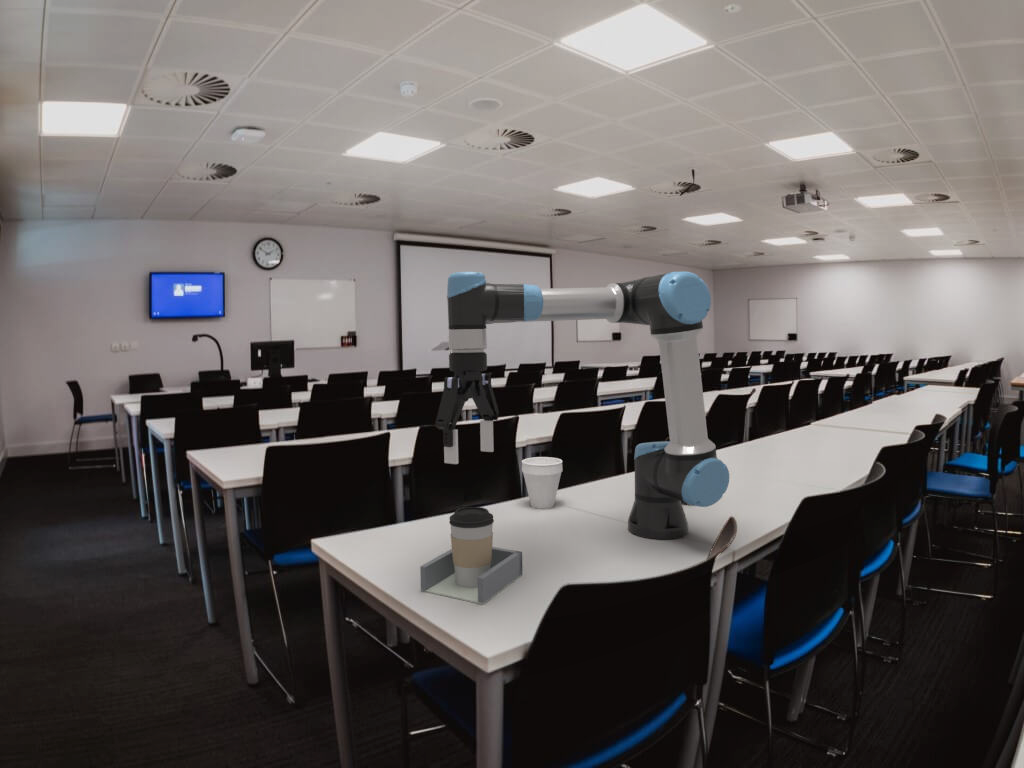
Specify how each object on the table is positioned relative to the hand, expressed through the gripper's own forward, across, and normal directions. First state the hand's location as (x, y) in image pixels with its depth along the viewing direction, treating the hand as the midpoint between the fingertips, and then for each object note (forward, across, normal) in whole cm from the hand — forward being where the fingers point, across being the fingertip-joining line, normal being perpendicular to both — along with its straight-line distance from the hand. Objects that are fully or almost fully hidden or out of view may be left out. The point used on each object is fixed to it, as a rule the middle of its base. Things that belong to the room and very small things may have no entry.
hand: (470, 457), depth 122 cm
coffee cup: (+26, 0, 0) cm, 26 cm away
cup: (+26, -60, -12) cm, 67 cm away
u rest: (+26, 0, 0) cm, 26 cm away
